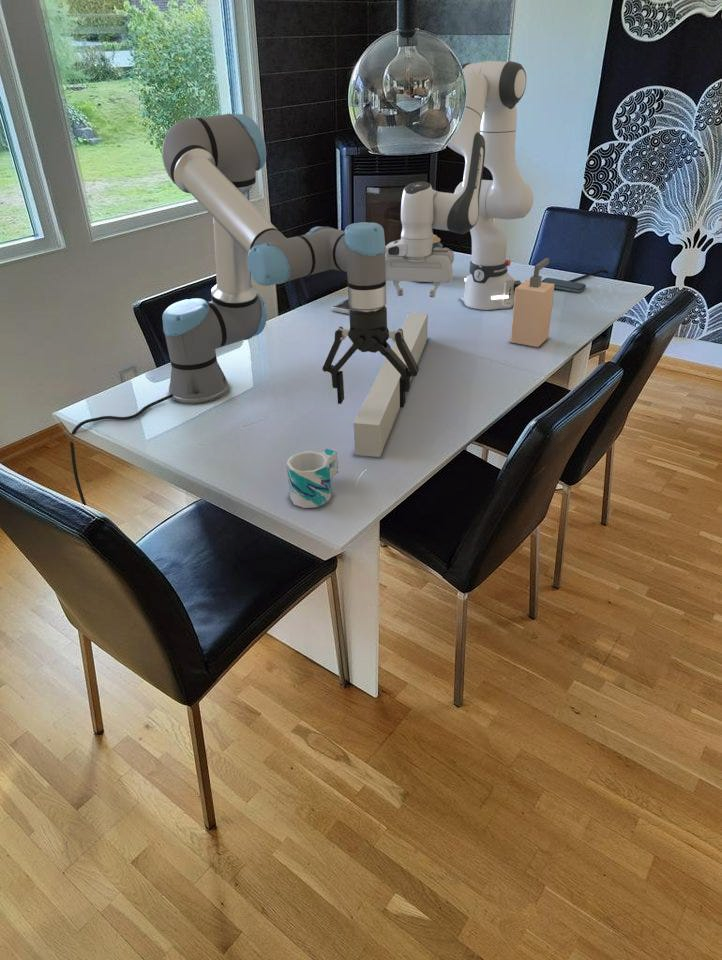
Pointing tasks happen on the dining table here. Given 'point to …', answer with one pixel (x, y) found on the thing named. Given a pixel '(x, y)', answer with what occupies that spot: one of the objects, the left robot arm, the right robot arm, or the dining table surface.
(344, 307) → the smartphone
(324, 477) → the mug
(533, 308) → the soap dispenser
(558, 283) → the smartphone
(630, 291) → the dining table surface
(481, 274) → the right robot arm
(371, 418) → the bar
